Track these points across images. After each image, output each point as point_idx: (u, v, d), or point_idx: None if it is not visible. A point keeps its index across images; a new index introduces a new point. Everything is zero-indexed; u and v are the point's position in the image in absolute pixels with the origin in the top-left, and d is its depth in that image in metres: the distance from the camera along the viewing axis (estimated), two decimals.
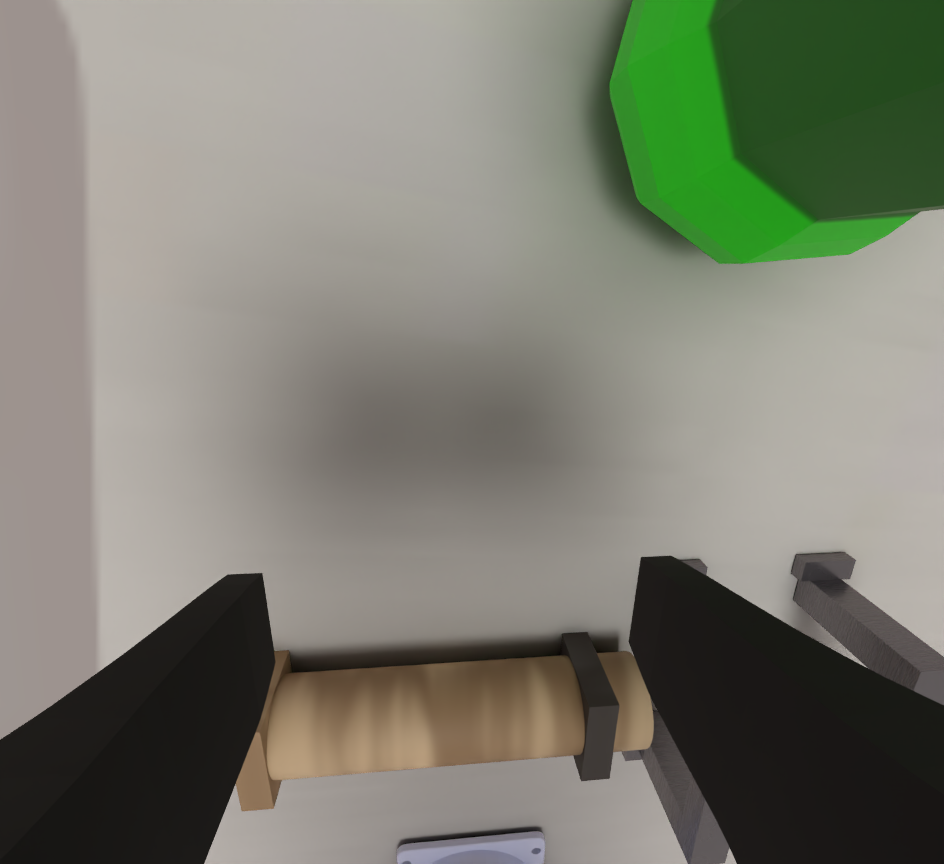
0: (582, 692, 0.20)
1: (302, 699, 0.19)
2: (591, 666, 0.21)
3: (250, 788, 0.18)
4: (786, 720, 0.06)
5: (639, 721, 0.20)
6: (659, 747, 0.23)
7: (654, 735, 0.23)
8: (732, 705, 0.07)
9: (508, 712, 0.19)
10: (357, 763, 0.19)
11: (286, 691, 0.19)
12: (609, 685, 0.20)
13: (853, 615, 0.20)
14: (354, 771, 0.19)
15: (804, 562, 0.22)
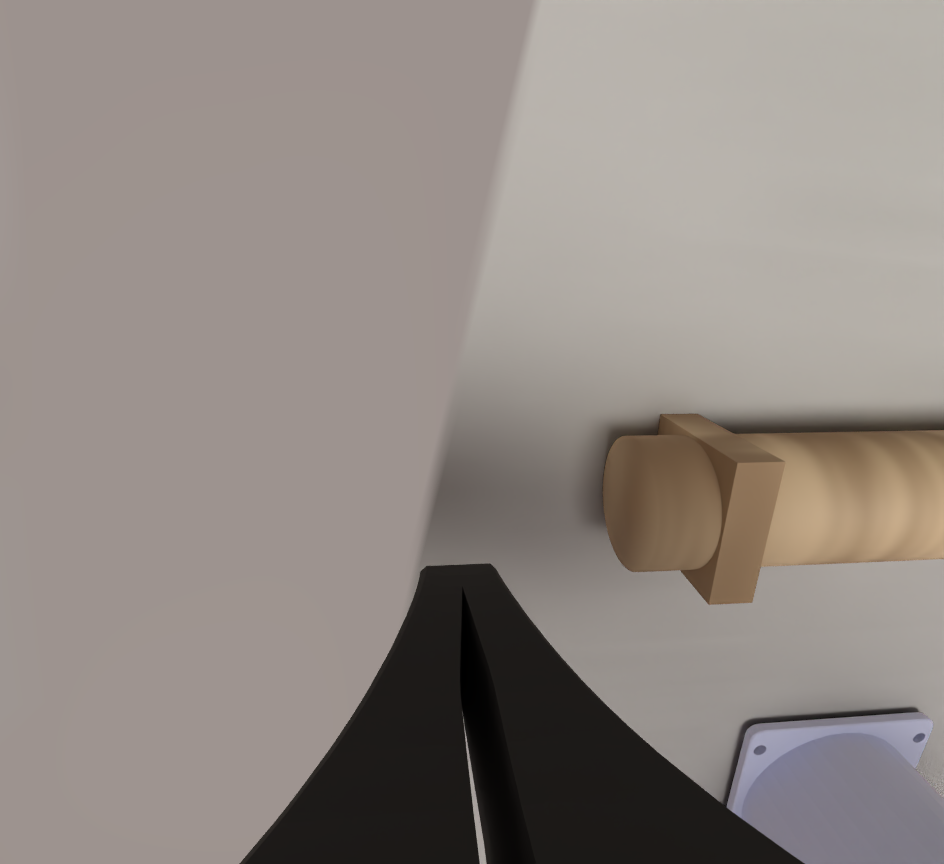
0: None
1: (786, 446, 0.13)
2: None
3: (735, 564, 0.12)
4: (497, 742, 0.05)
5: None
6: None
7: None
8: (484, 723, 0.06)
9: None
10: (885, 532, 0.13)
11: (752, 439, 0.13)
12: None
13: None
14: (869, 549, 0.13)
15: None
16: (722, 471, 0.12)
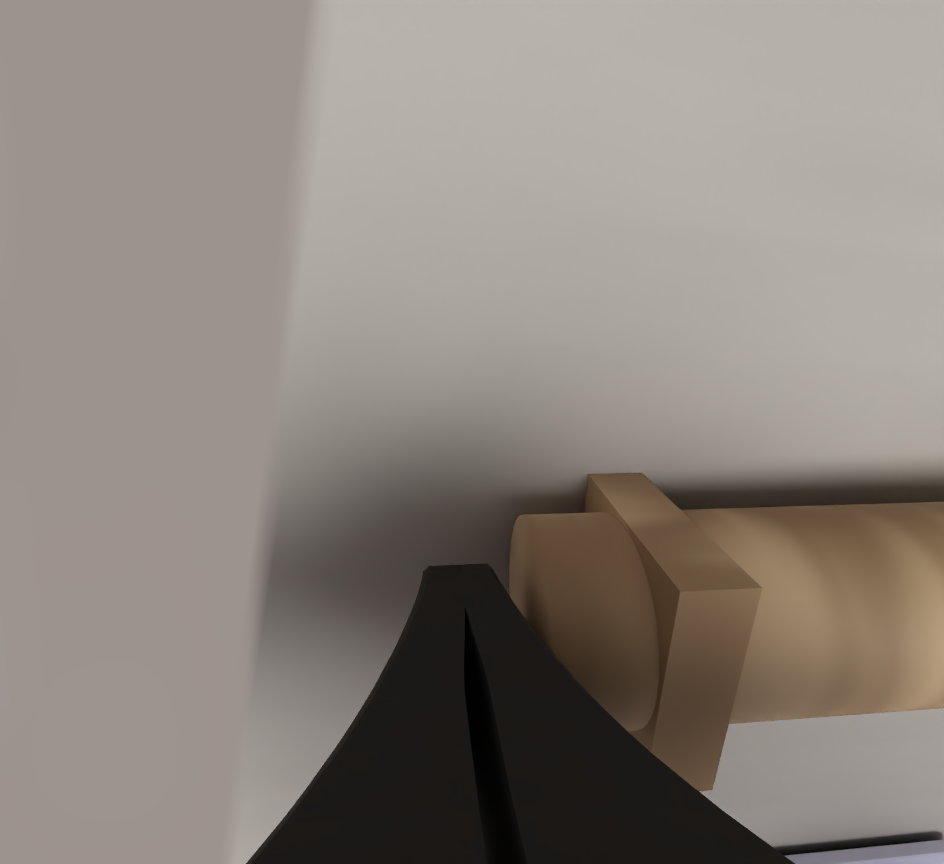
0: None
1: (767, 540, 0.08)
2: None
3: (683, 739, 0.08)
4: (491, 742, 0.05)
5: None
6: None
7: None
8: (479, 723, 0.06)
9: None
10: (923, 683, 0.08)
11: (715, 527, 0.09)
12: None
13: None
14: (896, 705, 0.08)
15: None
16: (659, 595, 0.07)
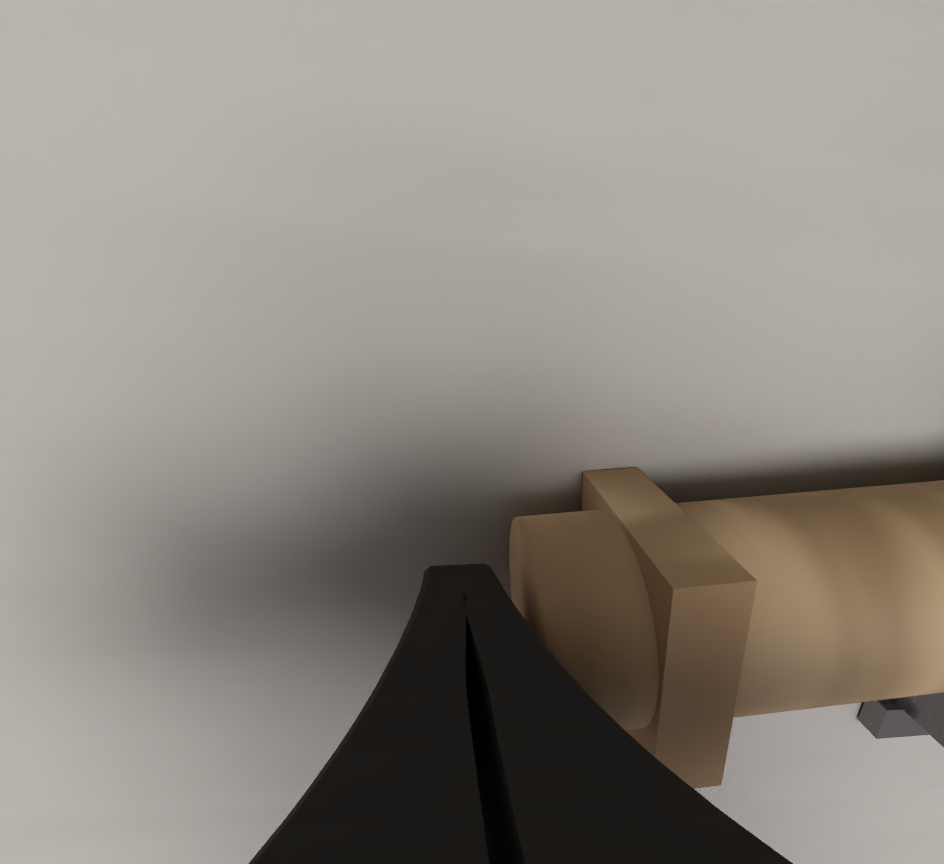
0: None
1: (764, 530, 0.08)
2: None
3: (686, 735, 0.08)
4: (490, 743, 0.05)
5: None
6: None
7: None
8: (478, 723, 0.06)
9: None
10: (931, 668, 0.08)
11: (711, 519, 0.08)
12: None
13: None
14: (905, 690, 0.08)
15: None
16: (654, 592, 0.07)
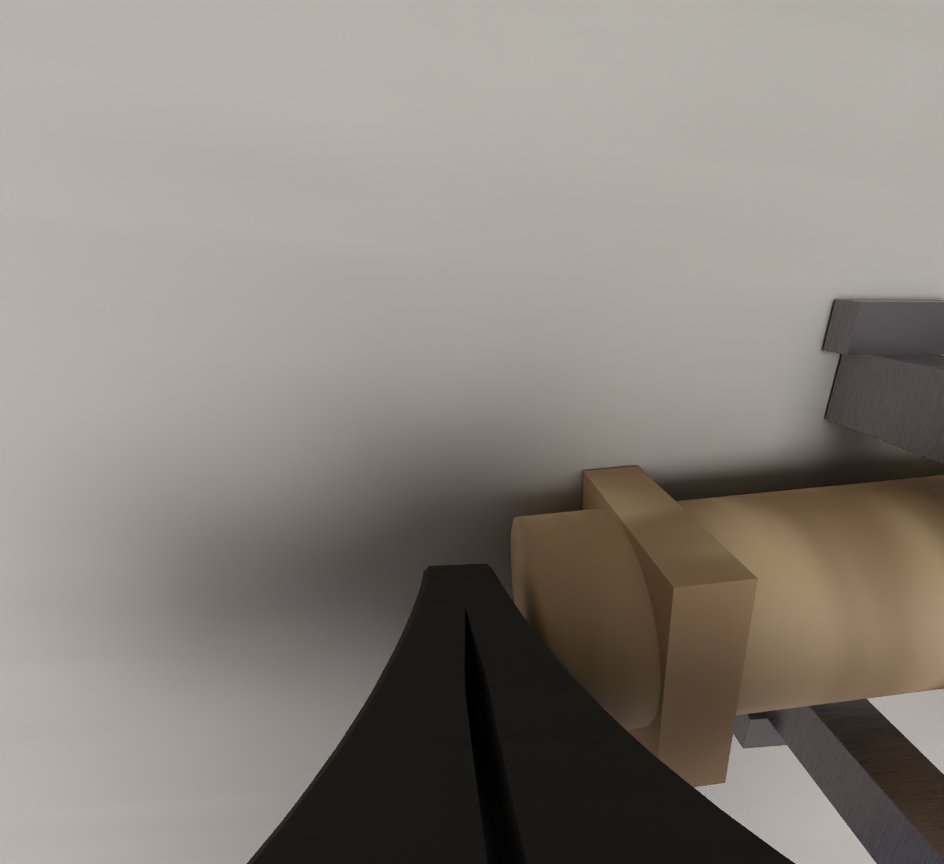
0: None
1: (764, 528, 0.08)
2: None
3: (689, 734, 0.08)
4: (491, 742, 0.05)
5: None
6: (836, 717, 0.11)
7: None
8: (478, 723, 0.06)
9: None
10: (934, 664, 0.08)
11: (712, 517, 0.08)
12: None
13: None
14: (909, 687, 0.08)
15: None
16: (655, 592, 0.07)
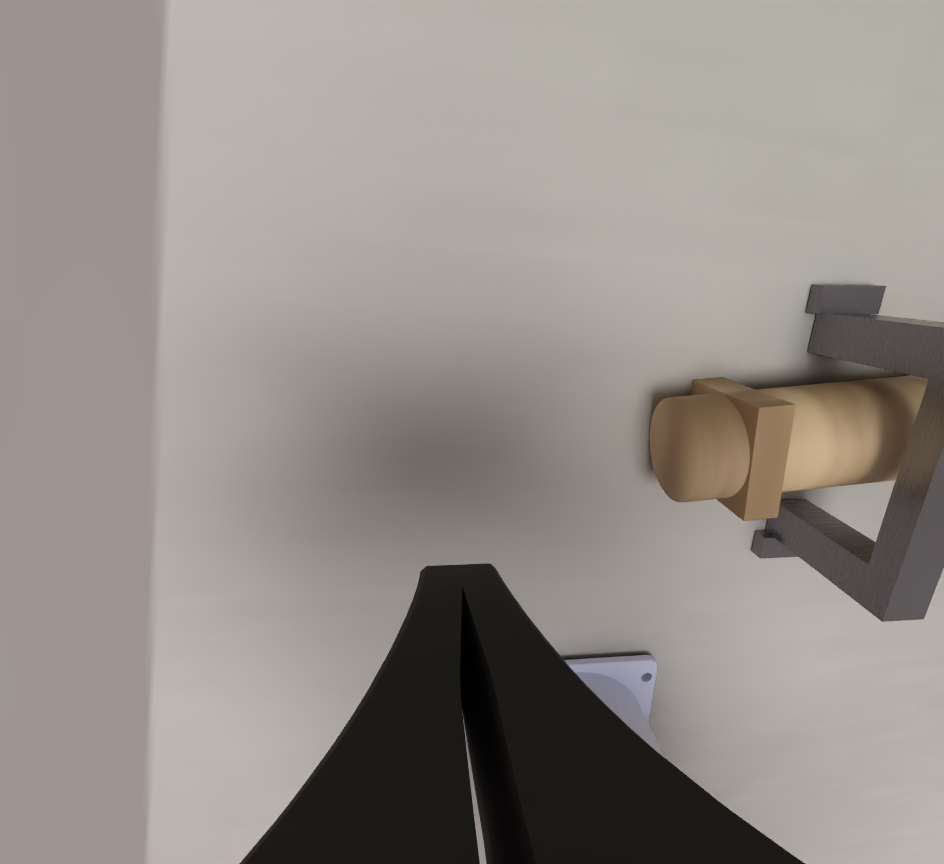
0: None
1: (795, 395, 0.17)
2: None
3: (762, 487, 0.16)
4: (496, 742, 0.05)
5: None
6: (814, 521, 0.19)
7: (803, 514, 0.20)
8: (483, 723, 0.06)
9: None
10: (878, 455, 0.16)
11: (768, 392, 0.17)
12: None
13: None
14: (866, 470, 0.16)
15: None
16: (747, 416, 0.16)
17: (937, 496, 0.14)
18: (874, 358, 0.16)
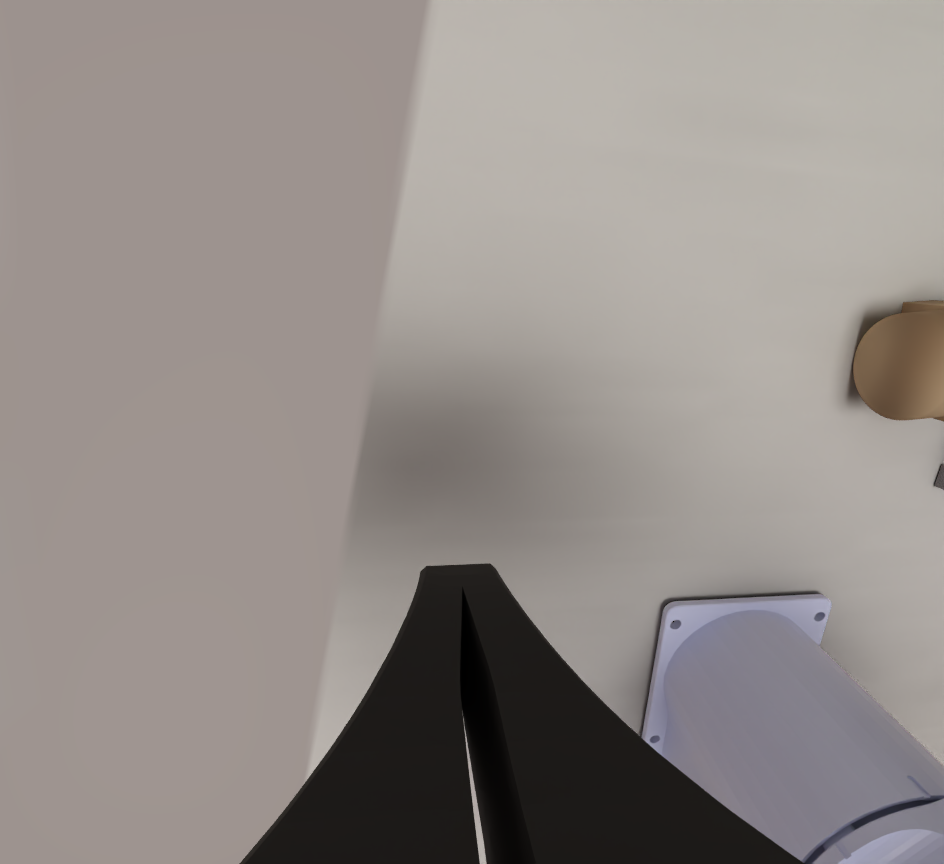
0: None
1: None
2: None
3: None
4: (497, 742, 0.05)
5: None
6: None
7: None
8: (483, 723, 0.06)
9: None
10: None
11: None
12: None
13: None
14: None
15: None
16: None
17: None
18: None
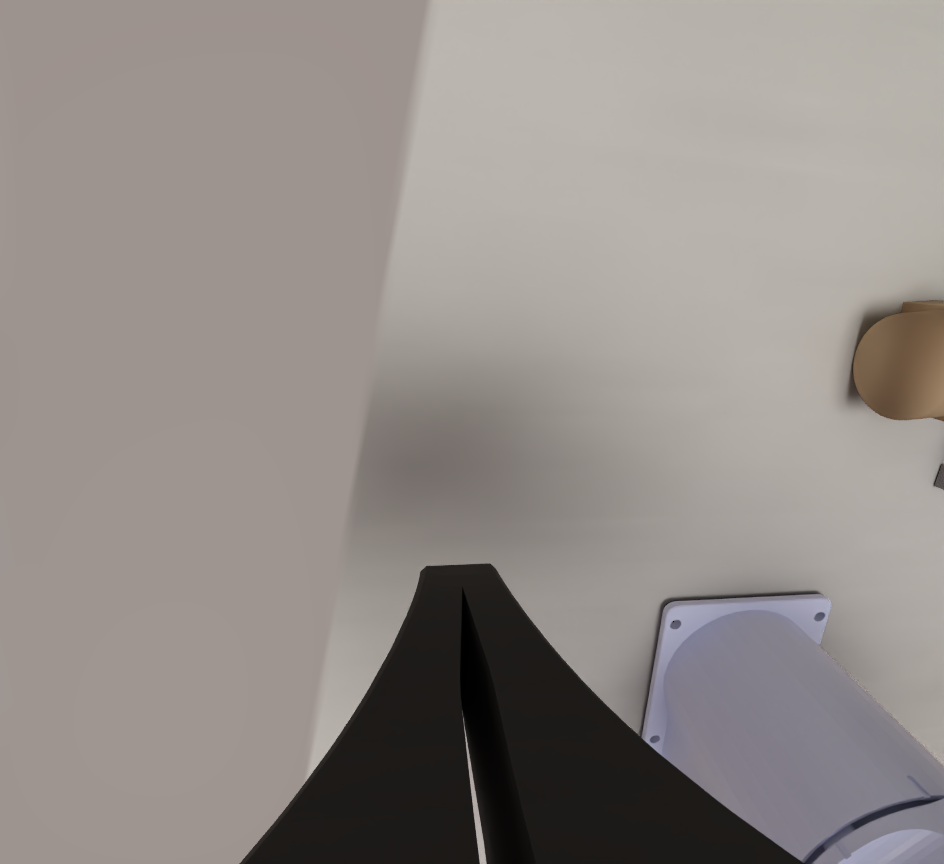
0: None
1: None
2: None
3: None
4: (497, 742, 0.05)
5: None
6: None
7: None
8: (483, 723, 0.06)
9: None
10: None
11: None
12: None
13: None
14: None
15: None
16: None
17: None
18: None
